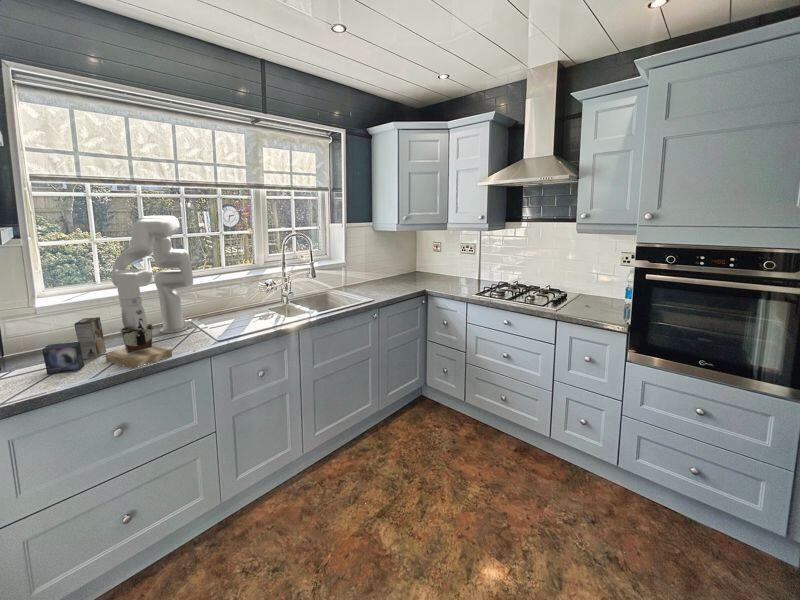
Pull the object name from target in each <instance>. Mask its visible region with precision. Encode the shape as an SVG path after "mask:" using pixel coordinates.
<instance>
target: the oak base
mask: <svg viewBox="0 0 800 600" xmlns="http://www.w3.org/2000/svg"><path fill="white" fill-rule="evenodd" d="M172 352H173V351H172V349H171V348H166V347H162V346H158V345H154V344H152V348H148V349H144V350H140V351H136V352H132V353H127V351H126V347H125V348H121V349H118V350H114V351H110V352H107V353H105V360H106V361H107V362H109V363H113V364H115V365H116V364H117V365H119V364H120V365H119V366H123V365H124V366H123V367H126V366H127V367H126V368H129V367H131V368H130V369H133V368H135V367H138V366H141V365H144V364H147V365H149V364H148V363H150V364H151V362H153V363H155V362H154V361H156V362H158V361H157V360H159V361H161V360H160V359H162V360H164V359H163V358H165V359H167V358H166V357H168V358H171V357H173V353H172ZM170 356H171V357H170ZM144 366H145V365H144ZM141 367H142V366H141ZM138 368H139V367H138ZM135 369H136V368H135Z"/></svg>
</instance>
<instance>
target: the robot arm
mask: <svg viewBox="0 0 800 600" xmlns="http://www.w3.org/2000/svg"><path fill="white" fill-rule="evenodd" d="M179 229H180V222H179V220H178V218H177V217H176V216H174V215H145V216H141V217H139V218H138V219H137V221H135V223H134V225H133V229H132V234H131V238H130V242H129V243H130V244H129V247H128V248H126V249H125V250H124V251H123V252H122V253H120V255H118V257H117V258H116V259H115V260H114V263H113V266H112V270H111V282H112V283H113V285H114V286H116V288H117V293H118V294H117V296H118V298H119V299H118V300H119V305H120V308H121V320H122V324H123V325H122V326H123V328H124V327H126V328H130V329H134V330H135V331H136V334H137V336H136V339H137V345H143V344H146V340H145V331H146V330H147V328H146V327H147V324H148V319H147V316H146V312H145V309H144V306H143V302H142V296H141V289H140V288H141V287H146V286H148V285H150V284H151V283H152V280H154V284H155V287H156V290H157V294H158V299H159V307H160V313H161V321H162V328H160V329H159V330H160V333H163V334H172V333H173V334H174V333H180V332H184V331H186V330H188V324H192V323H193V319H191V318H190V319H184V316H183V307H182V301H181V296H180V294H179V292H178V291H177V290H179V289H190V288H191V287H192V286H193V285H194V276H193V268H192V262H191V256H190V254H189V252H188V251H187V250H185V249H182V248H173V246H172V240H171V238H170V237H172V236H173V235H176V234H177V233H178V231H179ZM151 254H153V258H154V259H153V261H154V264H155V265H156V267H157V268H160V269H173V270H161V271H158V272H156V273H155V275H154V277H153V276H152V272H151V271H149V270H148V269H145V268H133V269H132V268H129V269H128V268H127V267H128V266H130V265H131V264H132V263H134V262H137V261H139V260H142V259H144V258H146V257H149V256H150V255H151ZM174 269H175V270H174ZM176 269H177V270H176ZM176 289H177V290H176ZM138 327H141V328H138ZM138 330H140V332H139V331H138Z"/></svg>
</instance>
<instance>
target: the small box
mask: <svg viewBox="0 0 800 600" xmlns="http://www.w3.org/2000/svg"><path fill="white" fill-rule="evenodd" d="M41 350H42V355H43V360H44V365H45V369H46V375H54V374H63V372H64V373H71V371H72V372H78V371H77V370H80V369H81V368H82V367H85V363H84V359H83V357H82V351H81V346H80V341H79V342H78V341H69V342H64V343H51V344H50V343H49V344H47V345H46V346H45V347H43V349H41ZM81 370H82V369H81ZM81 370H80V371H81Z"/></svg>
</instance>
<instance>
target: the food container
mask: <svg viewBox="0 0 800 600" xmlns="http://www.w3.org/2000/svg"><path fill="white" fill-rule="evenodd" d="M138 328H141V327H138ZM146 328H147V330H146V331H145V340H146V344H143V345H137V339H136V336H137V334H136V331H135V330H134V329H130V328H126V327H124V326H123V327H122V328H121V329H120V332H119V333H120V334H119V336H120V337H122V340H123V343H124V347H125V348H126V351H127V353H132V352H136V351H140V350H144V349H148V348H152V345H153V330H155V328H154V325H153V324H151V323H147V327H146ZM138 331H139V332H140V330H138Z"/></svg>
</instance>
